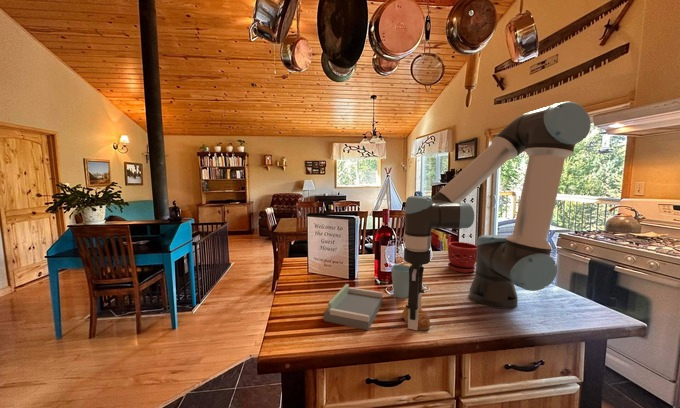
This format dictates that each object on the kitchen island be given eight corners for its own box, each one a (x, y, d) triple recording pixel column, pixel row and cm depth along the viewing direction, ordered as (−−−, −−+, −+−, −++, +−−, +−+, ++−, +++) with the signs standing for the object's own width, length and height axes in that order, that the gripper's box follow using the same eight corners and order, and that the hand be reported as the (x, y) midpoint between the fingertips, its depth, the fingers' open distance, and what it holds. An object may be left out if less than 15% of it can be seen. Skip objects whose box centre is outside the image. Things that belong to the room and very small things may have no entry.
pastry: (436, 329, 81) (437, 317, 81) (416, 333, 79) (417, 321, 78) (418, 314, 90) (418, 302, 89) (399, 317, 88) (399, 306, 87)
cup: (416, 297, 101) (417, 269, 100) (399, 301, 98) (399, 272, 97) (403, 289, 108) (404, 263, 107) (386, 293, 105) (387, 266, 104)
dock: (382, 303, 97) (382, 288, 96) (368, 330, 80) (368, 311, 80) (344, 297, 102) (344, 282, 101) (323, 321, 85) (323, 303, 85)
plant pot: (465, 276, 123) (466, 249, 121) (441, 267, 134) (442, 243, 133) (483, 271, 129) (485, 245, 128) (459, 263, 140) (460, 240, 139)
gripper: (409, 239, 94) (407, 303, 97) (397, 257, 74) (395, 337, 76) (432, 241, 92) (430, 306, 94) (427, 260, 71) (424, 343, 74)
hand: (414, 320), depth 85 cm, fingers open, 9 cm apart
